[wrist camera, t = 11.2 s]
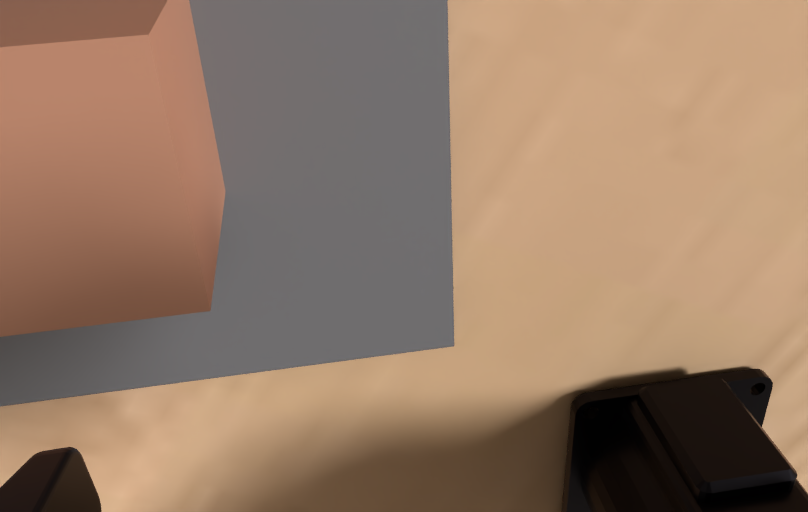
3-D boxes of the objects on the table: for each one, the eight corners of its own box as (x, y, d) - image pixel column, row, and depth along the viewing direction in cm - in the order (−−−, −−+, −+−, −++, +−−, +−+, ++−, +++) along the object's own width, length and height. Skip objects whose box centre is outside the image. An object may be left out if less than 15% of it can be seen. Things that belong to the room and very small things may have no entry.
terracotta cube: (225, 191, 18) (210, 310, 14) (7, 214, 17) (-79, 346, 13) (183, -29, 15) (149, 35, 11) (-75, -9, 15) (-215, 65, 11)
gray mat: (450, 335, 22) (454, 346, 21) (-136, 412, 20) (-145, 425, 20) (434, -378, 14) (439, -384, 13) (-562, -343, 12) (-592, -348, 12)
